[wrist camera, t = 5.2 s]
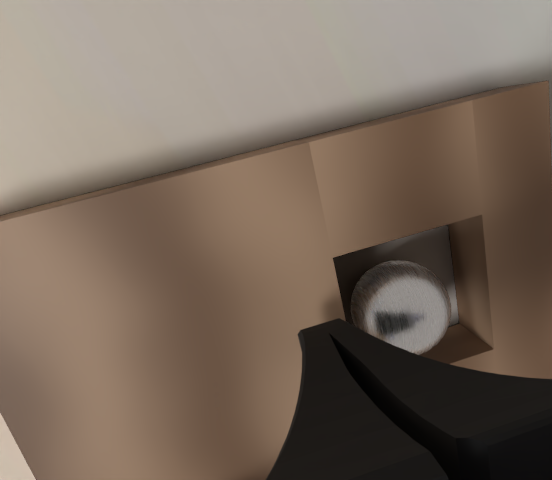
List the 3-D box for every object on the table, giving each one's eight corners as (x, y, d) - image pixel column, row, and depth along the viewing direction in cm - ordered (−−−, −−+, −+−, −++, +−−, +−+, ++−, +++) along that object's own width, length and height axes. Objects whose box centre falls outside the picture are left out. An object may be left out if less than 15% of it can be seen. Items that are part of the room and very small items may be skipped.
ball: (418, 311, 16) (342, 334, 15) (414, 236, 15) (331, 259, 14) (473, 360, 13) (381, 391, 13) (473, 272, 12) (372, 302, 11)
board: (134, 591, 17) (126, 650, 15) (-43, 226, 12) (-89, 244, 10) (525, 450, 19) (562, 486, 17) (501, 87, 14) (548, 80, 12)
